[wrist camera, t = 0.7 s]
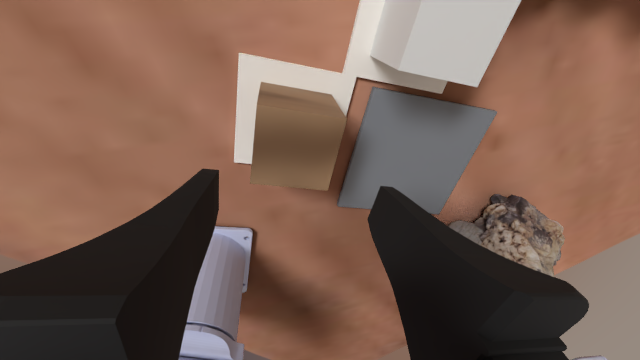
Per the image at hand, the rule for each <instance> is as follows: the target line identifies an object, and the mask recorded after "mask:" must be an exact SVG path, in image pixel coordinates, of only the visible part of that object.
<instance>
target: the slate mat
mask: <svg viewBox="0 0 640 360" xmlns="http://www.w3.org/2000/svg"><path fill="white" fill-rule="evenodd" d="M496 114H497V111H494V110H490V109H485V108H479V107H474V106H469V105H464V104H459V103H454V102H449V101H443V100H438V99H433V98H428V97H423V96H418V95H413V94H408V93H402V92H397V91H392V90H387V89H382V88H377V87H372V91H371V94H370V97H369V100H368V104H367V107H366V110H365V114H364V117H363V120H362V123H361V127H360V130H359V133H358V137H357V140H356V143H355V146H354V150H353V153H352V156H351V160H350V163H349V166H348V169H347V173H346V176H345V179H344V182H343V186H342V189H341V192H340V196H339V199H338V202H337V205H338V207H351V208H364V209H372V206H373V204H374V201H375V199H376V196H377V194H378V191H379V188H380V186H388V187H393V188H395V189H397V190H398V191H400V192H401V193H403V194H404V195H405V196H407V197H408V198H409V199H411V200H412V201H413V202H415V203H416V204H417V205H419V206H420V207H421V208H423V209H424V210H425V211H427V212H428V213H430V214H439V213H440V212H441V210H442V208H443V206H444V205H445V203H446V201H447V199H448V198H449V196H450V194H451V192H452V191H453V189H454V187H455V185H456V184H457V182H458V180H459V178H460V177H461V175H462V173H463V171H464V170H465V168H466V166H467V164H468V163H469V161H470V159H471V157H472V156H473V154H474V152H475V150H476V149H477V147H478V145H479V143H480V142H481V140H482V138H483V136H484V135H485V133H486V131H487V129H488V128H489V126H490V124H491V122H492V121H493V119H494V117H495V115H496Z"/></svg>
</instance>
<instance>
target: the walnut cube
mask: <svg viewBox="0 0 640 360" xmlns="http://www.w3.org/2000/svg"><path fill="white" fill-rule="evenodd" d="M346 122H347V118H346V116H345V115H344V113H343V112H342V110H341V108H340V107H339V105H338V104H337V102H336V101H335V99H334V98H333V96H332V94H326V93H321V92H315V91H310V90H304V89H299V88H293V87H288V86H282V85H276V84H271V83H265V82H261V84H260V89H259V95H258V100H257V107H256V119H255V131H254V142H253V154H252V166H251V178H250V184H260V185H271V186H282V187H293V188H303V189H314V190H325V191H328V188H329V184H330V180H331V177H332V173H333V169H334V166H335V162H336V158H337V155H338V151H339V147H340V144H341V140H342V136H343V133H344V129H345V125H346Z"/></svg>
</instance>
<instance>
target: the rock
mask: <svg viewBox="0 0 640 360" xmlns="http://www.w3.org/2000/svg"><path fill="white" fill-rule="evenodd" d="M490 200H491V201H492V205H490V206H488V207H487V208H486V209H485V210H484V213H483V218H481V217H480V218H479V219H478V220H476V221H475V223H470V222H466V221H456V222H452V223H450V224H449V225H448V227H450V228H451V229H453V230H455V231H456V232H458V233H460V234H461V235H463V236H465V237H466V238H468V239H470V240H472V241H473V242H475V243H477V244H479V245H481V246H483V247H485V248H487V249H489V250H491V251H493V252H495V253H497V254H499V255H501V256H503V257H505V258H507V259H510V260H512V261H514V262H517V263H519V264H521V265H524V266H526V267H528V268H531V269H533V270H536V271H539V272H542V273H544V274H547V275H550V276H552V277H554V271H553V266H554V265H556V261H558V260H560V257H561V251H560V249H561V246H562V245H563V244H564V239H565V238H564V236H563V235H562V233H563V227H562V226H561V225H560V224H559V223H558V222H556V221H554V220H550V219H548V218H547V217H546V216H545V215H544V214H542V213H541V212H540V211H538V210H537V209H536V207H535V206H533V205H531V204H530V203H529V202H528V201H527V200H525V199H524V198H522V197H518V196H514V195H511V196H509V197H508V198H506V197H504V196H501V195H499V194H494V195H493V196H492V197H491V199H490Z"/></svg>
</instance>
